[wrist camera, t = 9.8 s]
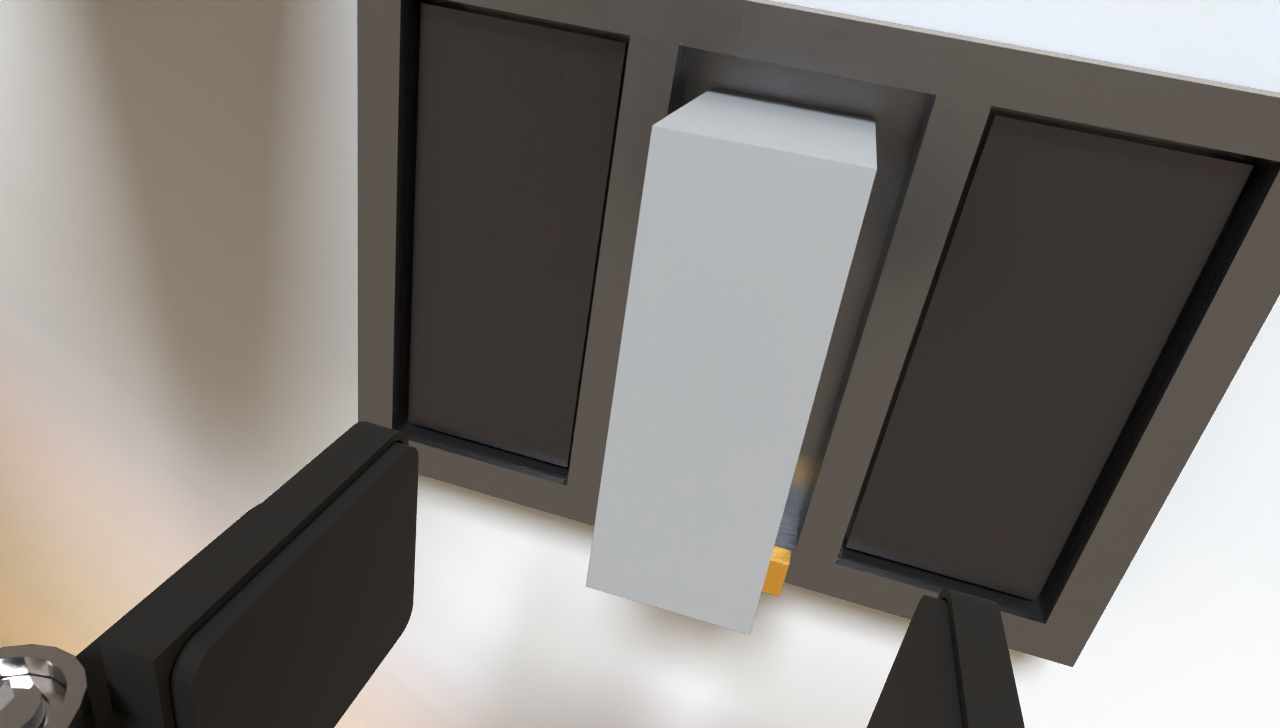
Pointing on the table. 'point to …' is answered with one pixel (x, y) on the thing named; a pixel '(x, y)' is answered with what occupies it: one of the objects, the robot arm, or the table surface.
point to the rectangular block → (724, 345)
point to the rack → (874, 291)
